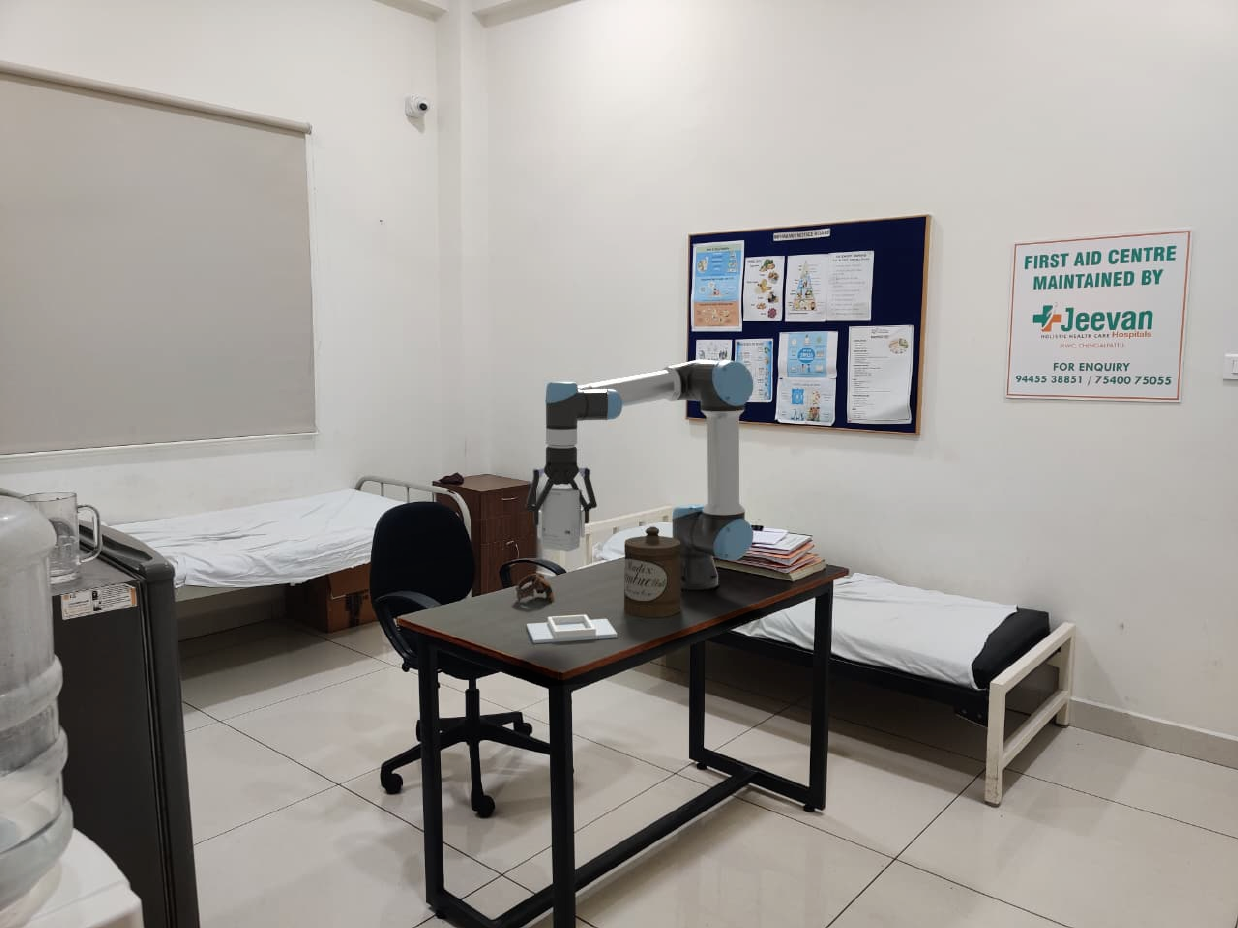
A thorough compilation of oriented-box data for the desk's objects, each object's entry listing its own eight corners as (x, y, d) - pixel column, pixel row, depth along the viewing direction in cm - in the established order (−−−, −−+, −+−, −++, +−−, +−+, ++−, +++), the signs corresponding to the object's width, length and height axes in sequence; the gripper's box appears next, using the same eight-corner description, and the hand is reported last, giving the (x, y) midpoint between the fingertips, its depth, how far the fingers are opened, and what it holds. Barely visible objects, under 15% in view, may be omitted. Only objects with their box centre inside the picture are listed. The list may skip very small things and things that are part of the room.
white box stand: (606, 621, 221) (606, 612, 221) (617, 637, 210) (617, 627, 210) (526, 626, 217) (526, 617, 217) (533, 643, 205) (533, 633, 205)
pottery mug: (555, 607, 235) (540, 583, 232) (524, 620, 237) (509, 596, 234) (560, 584, 246) (545, 560, 243) (530, 597, 248) (515, 574, 245)
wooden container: (612, 611, 231) (613, 528, 228) (644, 597, 243) (645, 518, 240) (660, 621, 222) (662, 535, 219) (690, 607, 234) (692, 525, 231)
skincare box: (540, 548, 216) (540, 488, 214) (551, 543, 221) (551, 484, 219) (571, 552, 212) (571, 491, 211) (582, 547, 218) (582, 487, 216)
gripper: (604, 443, 219) (603, 532, 222) (513, 444, 215) (513, 535, 218) (610, 447, 212) (609, 538, 215) (516, 448, 208) (516, 541, 211)
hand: (561, 536), depth 216 cm, fingers closed on skincare box, 10 cm apart
